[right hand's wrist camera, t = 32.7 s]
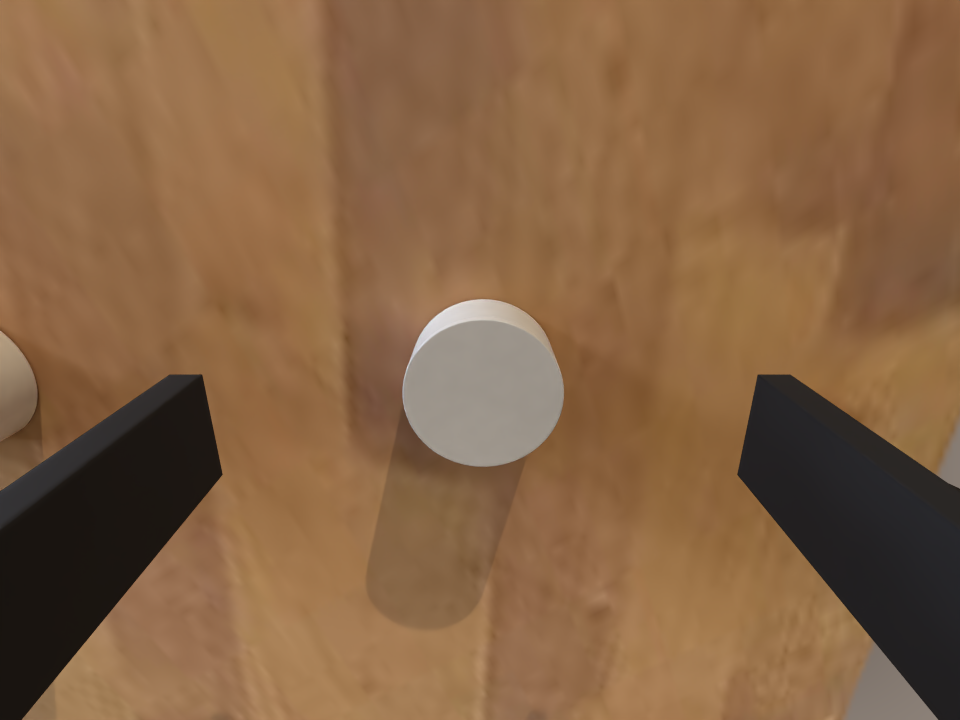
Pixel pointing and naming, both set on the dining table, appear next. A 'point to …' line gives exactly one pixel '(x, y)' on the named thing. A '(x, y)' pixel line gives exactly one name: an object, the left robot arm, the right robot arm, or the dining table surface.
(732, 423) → the dining table surface
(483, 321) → the cap
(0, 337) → the bottle
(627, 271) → the dining table surface
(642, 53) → the dining table surface
